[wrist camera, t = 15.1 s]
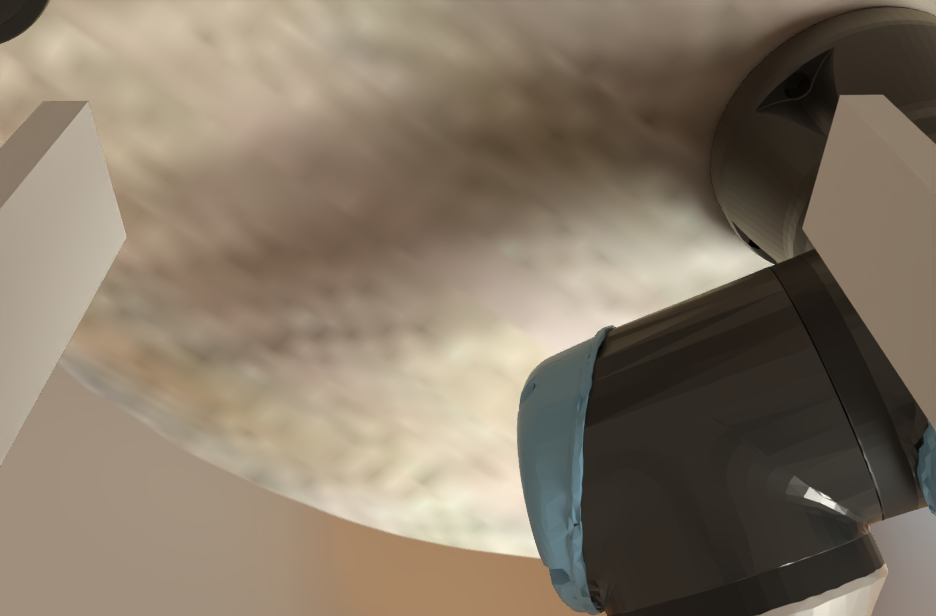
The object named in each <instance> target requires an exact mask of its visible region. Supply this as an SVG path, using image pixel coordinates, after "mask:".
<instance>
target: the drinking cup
mask: <svg viewBox="0 0 936 616" xmlns="http://www.w3.org/2000/svg"><path fill="white" fill-rule="evenodd" d="M49 2H50V0H0V44H1V43H4V42H7V41H9V40H11V39H13V38H15V37H17V36H19V35H20V34H22V33H23V32H25V31H26V30H27V29H28V28H29V27H30V26H32V25H33V24H34V23H35V22H36V21H37V19H38V18H39V17H40V16H41V15H42V13H43V12H44V10H45V9H46V7H47V6H48V4H49Z"/></svg>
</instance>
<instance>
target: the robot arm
mask: <svg viewBox="0 0 936 616" xmlns="http://www.w3.org/2000/svg"><path fill="white" fill-rule="evenodd" d="M711 179H712V185H713V189H714V192H715V196H716V198H717V201H718V203H719V205H720V207H721V209H722V211H723V213H724V214H725V216H726V218H727V220H728V222H729V224H730V226H731V227H732V229H733V230H734V232H735V233H736V234H737V236H738V237H739V238H740V239H741V240H742V241H743V243H744V244H745V245H747V246H748V247H749V248H750V249H751V250H752V251H753V252H755V253H756V254H758V255H759V256H761V257H762V258H764V259H765V260H767V261H769V262H771V263H773V264H775V265H773V266H771V267H767V268H764V269H762V270H760V271H757V272H755V273H753V274H750V275H748V276H745V277H742V278H740V279H737V280H735V281H732V282H730V283H727V284H725V285H722V286H720V287H717V288H715V289H712V290H710V291H707V292H705V293H702V294H700V295H697V296H695V297H692V298H690V299H687V300H685V301H682V302H680V303H677V304H675V305H672V306H670V307H667V308H664V309H662V310H659V311H657V312H654V313H652V314H649V315H647V316H644V317H642V318H639V319H637V320H634V321H632V322H629V323H627V324H624V325H622V326H619V327H617V328H616V327H614V326H613V325H611V326H608V327H605V328H602V329H601V330H600V331H598V332H597V334H596V335H595V337H593V338H591V339H589V340H587V341H584V342H582V343H580V344H578V345H576V346H573V347H571V348H569V349H567V350H565V351H562V352H560V353H558V354H556V355H554V356H551V357H549V358H548V359H546V360H544V361H543V362H541V363H540V364H539V365H538V366H537V367H536V368H535V369H534V370H533V371H532V373H531V374H530V375H529V377H528V379H527V381H526V383H525V385H524V388H523V390H522V393H521V398H520V405H519V412H518V418H517V446H518V458H519V468H520V476H521V482H522V488H523V494H524V499H525V504H526V508H527V513H528V517H529V521H530V525H531V529H532V532H533V536H534V539H535V543H536V546H537V549H538V552H539V555H540V557H541V559H542V561H543V564H544V565H545V566H546V567H548V568H549V571H550V576H551V581H552V585H553V586H554V588H555V590H556V592H557V594H558V595H559V597H560V598H561V600H562V601H563V602H564V603H565V604H566V605H567V606H569V607H570V608H571V609H572V610H574V611H576V612H583V613H588V614H590V615H596V614H599V613H602V612H603V611H605V612H606V614H607V616H871V614H872V610H873V608H874V605H875V602H876V600H877V598H878V595H879V593H880V590H881V588H882V586H883V583H884V581H885V578H886V576H887V574H888V569H887V566H886V564H885V562H884V560H883V558H882V556H881V553H880V551H879V549H878V547H877V545H876V542H875V540H874V538H873V536H872V533H871V531H870V525H871V524H873V523H876V522H879V521H881V520H885V519H887V518H890V517H894V516H897V515H900V514H903V513H907V512H909V511H913V510H917V509H920V508H924V507H927V506H928V508H929V510H930V511H931V513H933V514H935V515H936V16H934V15H931V14H928V13H926V12H922V11H918V10H913V9H907V8H897V7H881V8H870V9H863V10H858V11H854V12H849V13H846V14H842V15H839V16H836V17H833V18H830V19H828V20H825V21H823V22H821V23H818V24H816V25H814V26H812V27H810V28H808V29H806V30H804V31H803V32H801V33H799V34H797V35H796V36H794V37H793V38H791V39H790V40H788V41H787V42H785V43H784V44H782V45H781V46H780V47H778V48H777V49H776V50H774V51H773V52H772V53H771V54H770V55H769V56H767V57H766V58H765V59H764V60H763V61H762V62H761V63H760V64H759V65H758V66H757V67H756V68H755V69H754V70H753V71H752V72H751V73H750V74H749V76H748V77H747V78H746V79H745V80H744V82H743V83H742V84H741V85H740V87H739V88H738V90H737V91H736V92H735V94H734V96H733V97H732V99H731V100H730V102H729V104H728V106H727V107H726V109H725V111H724V113H723V116H722V118H721V120H720V123H719V125H718V128H717V131H716V134H715V137H714V142H713V146H712V153H711ZM126 238H127V236H126V232H125V229H124V225H123V222H122V218H121V215H120V211H119V208H118V204H117V201H116V197H115V194H114V190H113V186H112V183H111V179H110V176H109V172H108V169H107V165H106V162H105V158H104V155H103V151H102V148H101V144H100V141H99V137H98V134H97V130H96V126H95V123H94V119H93V116H92V112H91V109H90V105H89V102H88V101H53V102H43V103H42V104H41V105H40V106H39V107H38V108H37V109H36V110H35V111H34V112H33V113H32V114H31V116H30V117H29V118H28V119H27V120H26V121H25V122H24V123H23V124H22V125H21V126H20V127H19V129H18V130H17V131H16V132H15V133H14V134H13V135H12V136H11V137H10V138H9V139H8V140H7V142H6V143H5V144H4V145H3V146H2V147H1V148H0V466H1V464H2V462H3V461H4V458H5V457H6V455H7V453H8V452H9V450H10V448H11V446H12V444H13V442H14V441H15V439H16V437H17V435H18V433H19V431H20V430H21V428H22V426H23V424H24V422H25V421H26V419H27V417H28V415H29V413H30V412H31V410H32V408H33V406H34V404H35V402H36V401H37V399H38V397H39V395H40V394H41V392H42V390H43V388H44V386H45V384H46V383H47V381H48V379H49V377H50V375H51V374H52V372H53V370H54V368H55V366H56V365H57V363H58V361H59V359H60V357H61V355H62V354H63V352H64V350H65V348H66V346H67V345H68V343H69V341H70V339H71V337H72V335H73V334H74V332H75V330H76V328H77V326H78V325H79V323H80V321H81V319H82V317H83V316H84V314H85V312H86V310H87V308H88V306H89V305H90V303H91V301H92V299H93V297H94V296H95V294H96V292H97V290H98V288H99V287H100V285H101V283H102V281H103V279H104V277H105V276H106V274H107V272H108V270H109V268H110V267H111V265H112V263H113V261H114V259H115V258H116V256H117V254H118V252H119V250H120V248H121V247H122V245H123V243H124V241H125V239H126Z"/></svg>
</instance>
